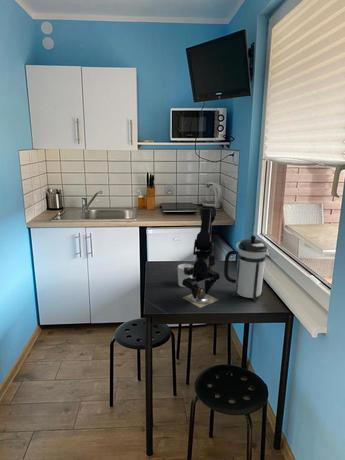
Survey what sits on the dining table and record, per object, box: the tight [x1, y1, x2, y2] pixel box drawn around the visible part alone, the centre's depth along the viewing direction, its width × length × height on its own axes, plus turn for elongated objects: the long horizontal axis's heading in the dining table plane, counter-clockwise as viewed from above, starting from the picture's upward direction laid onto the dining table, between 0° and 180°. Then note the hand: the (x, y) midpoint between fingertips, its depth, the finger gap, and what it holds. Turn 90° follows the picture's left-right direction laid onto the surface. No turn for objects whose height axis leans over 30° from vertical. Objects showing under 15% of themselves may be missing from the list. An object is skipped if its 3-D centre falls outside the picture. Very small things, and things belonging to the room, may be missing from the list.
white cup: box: [177, 263, 194, 288], centre depth 166 cm, size 8×8×10 cm
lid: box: [191, 287, 211, 303], centre depth 152 cm, size 9×9×5 cm
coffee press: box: [223, 234, 270, 303], centre depth 154 cm, size 17×16×30 cm
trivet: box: [182, 292, 219, 309], centre depth 152 cm, size 12×12×1 cm
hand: (200, 296), depth 152 cm, fingers open, 7 cm apart
